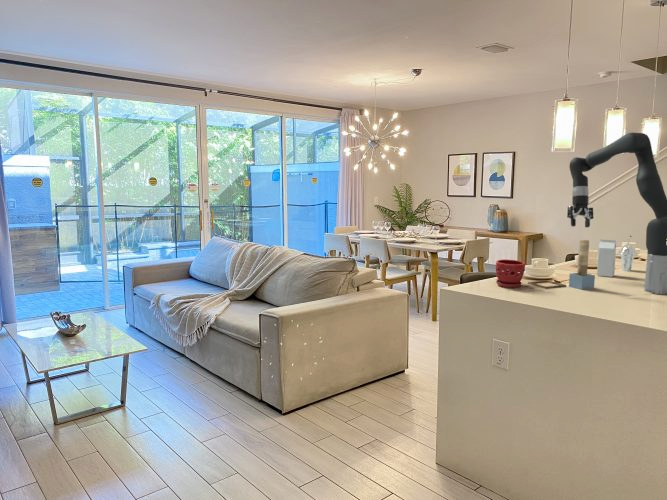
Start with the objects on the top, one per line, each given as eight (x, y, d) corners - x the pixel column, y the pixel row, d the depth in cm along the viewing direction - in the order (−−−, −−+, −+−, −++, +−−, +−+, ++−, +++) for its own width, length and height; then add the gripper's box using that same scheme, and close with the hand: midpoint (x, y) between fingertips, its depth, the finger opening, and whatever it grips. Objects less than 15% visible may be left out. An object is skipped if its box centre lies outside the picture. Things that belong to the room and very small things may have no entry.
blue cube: (593, 290, 227) (594, 275, 226) (581, 291, 225) (582, 276, 224) (581, 286, 234) (582, 272, 233) (568, 288, 232) (569, 273, 231)
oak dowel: (588, 288, 228) (591, 240, 225) (581, 288, 227) (584, 241, 224) (581, 286, 232) (584, 239, 229) (574, 286, 231) (577, 240, 228)
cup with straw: (637, 270, 276) (640, 234, 273) (631, 272, 270) (634, 236, 267) (621, 268, 282) (623, 233, 279) (615, 270, 276) (617, 234, 273)
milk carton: (612, 277, 257) (614, 241, 254) (596, 275, 261) (599, 240, 258) (614, 275, 262) (616, 239, 260) (599, 273, 267) (601, 238, 264)
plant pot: (492, 287, 235) (493, 262, 234) (497, 282, 247) (498, 258, 245) (521, 289, 229) (523, 264, 228) (525, 284, 241) (526, 260, 239)
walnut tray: (566, 288, 232) (566, 284, 232) (545, 290, 228) (545, 286, 228) (547, 283, 243) (547, 280, 243) (527, 285, 239) (527, 282, 239)
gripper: (574, 193, 252) (574, 225, 251) (597, 195, 255) (597, 226, 254) (563, 196, 259) (563, 226, 258) (586, 197, 263) (586, 228, 262)
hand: (580, 226), depth 256 cm, fingers open, 8 cm apart
